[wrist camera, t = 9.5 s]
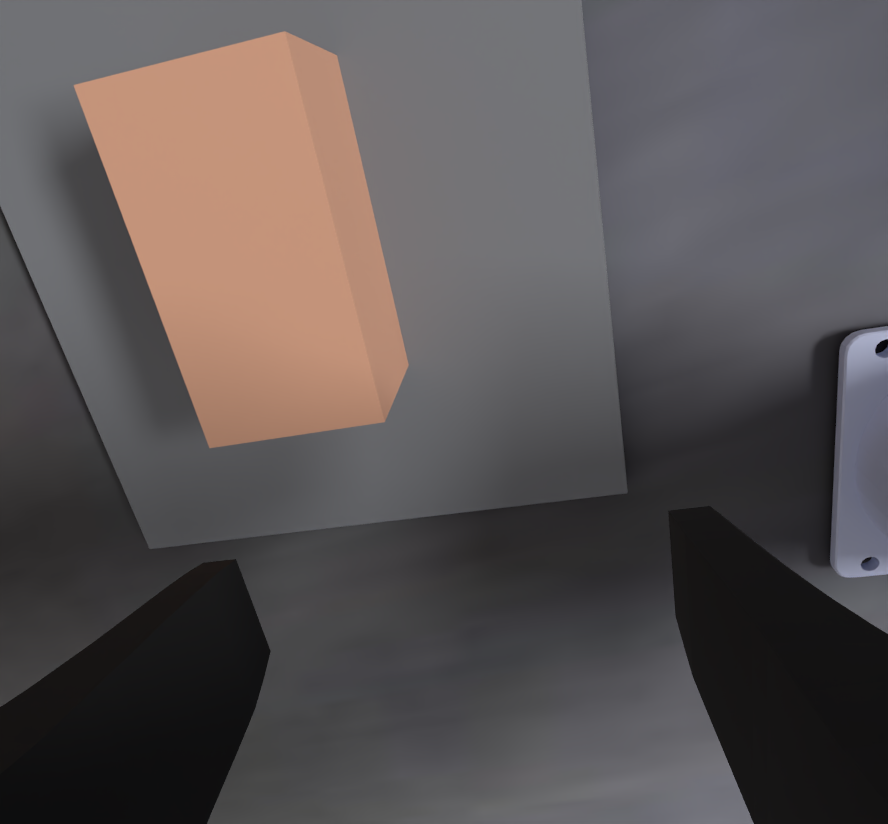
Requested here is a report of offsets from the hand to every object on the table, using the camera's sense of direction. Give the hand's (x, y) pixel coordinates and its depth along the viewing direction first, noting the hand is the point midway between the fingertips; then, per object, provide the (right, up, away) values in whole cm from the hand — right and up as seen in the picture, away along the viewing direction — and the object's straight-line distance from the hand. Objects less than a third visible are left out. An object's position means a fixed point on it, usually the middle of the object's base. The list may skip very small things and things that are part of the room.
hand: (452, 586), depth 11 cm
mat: (-4, +8, +7) cm, 11 cm away
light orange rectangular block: (-4, +8, +7) cm, 11 cm away
